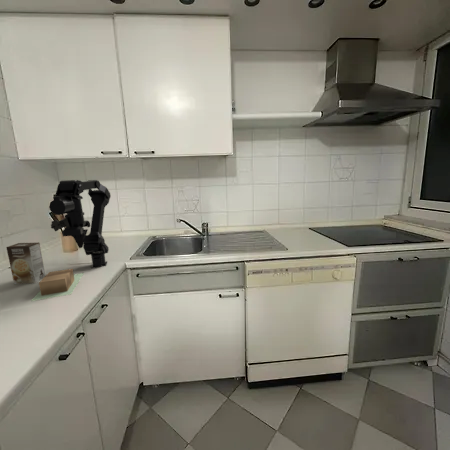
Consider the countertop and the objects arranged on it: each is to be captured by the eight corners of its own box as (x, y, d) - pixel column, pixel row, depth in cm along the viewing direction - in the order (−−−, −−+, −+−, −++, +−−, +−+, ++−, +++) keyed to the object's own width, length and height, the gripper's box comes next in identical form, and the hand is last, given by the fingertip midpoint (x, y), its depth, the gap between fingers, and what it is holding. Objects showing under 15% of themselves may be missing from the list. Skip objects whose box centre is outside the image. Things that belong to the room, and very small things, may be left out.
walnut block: (49, 271, 94) (38, 282, 84) (72, 268, 97) (65, 278, 86) (51, 283, 95) (41, 295, 85) (74, 280, 97) (67, 291, 87)
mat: (52, 278, 101) (52, 277, 101) (84, 273, 105) (83, 272, 105) (30, 302, 81) (30, 301, 81) (71, 295, 85) (71, 294, 85)
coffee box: (13, 285, 96) (4, 247, 93) (25, 278, 102) (18, 242, 100) (36, 283, 96) (28, 245, 93) (47, 277, 103) (40, 241, 100)
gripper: (59, 210, 103) (65, 244, 106) (42, 216, 86) (50, 257, 89) (87, 208, 106) (93, 241, 110) (77, 213, 89) (83, 253, 92)
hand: (80, 247), depth 100 cm, fingers closed
